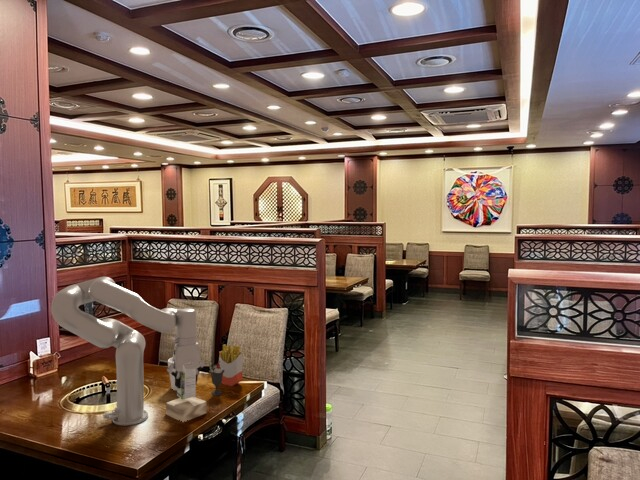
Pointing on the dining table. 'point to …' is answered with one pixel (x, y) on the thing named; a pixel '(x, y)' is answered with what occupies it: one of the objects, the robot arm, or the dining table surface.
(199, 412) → the riser block
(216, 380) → the sundae
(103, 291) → the robot arm
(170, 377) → the foam cup
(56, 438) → the dining table surface
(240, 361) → the french fries container
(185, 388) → the syrup box
